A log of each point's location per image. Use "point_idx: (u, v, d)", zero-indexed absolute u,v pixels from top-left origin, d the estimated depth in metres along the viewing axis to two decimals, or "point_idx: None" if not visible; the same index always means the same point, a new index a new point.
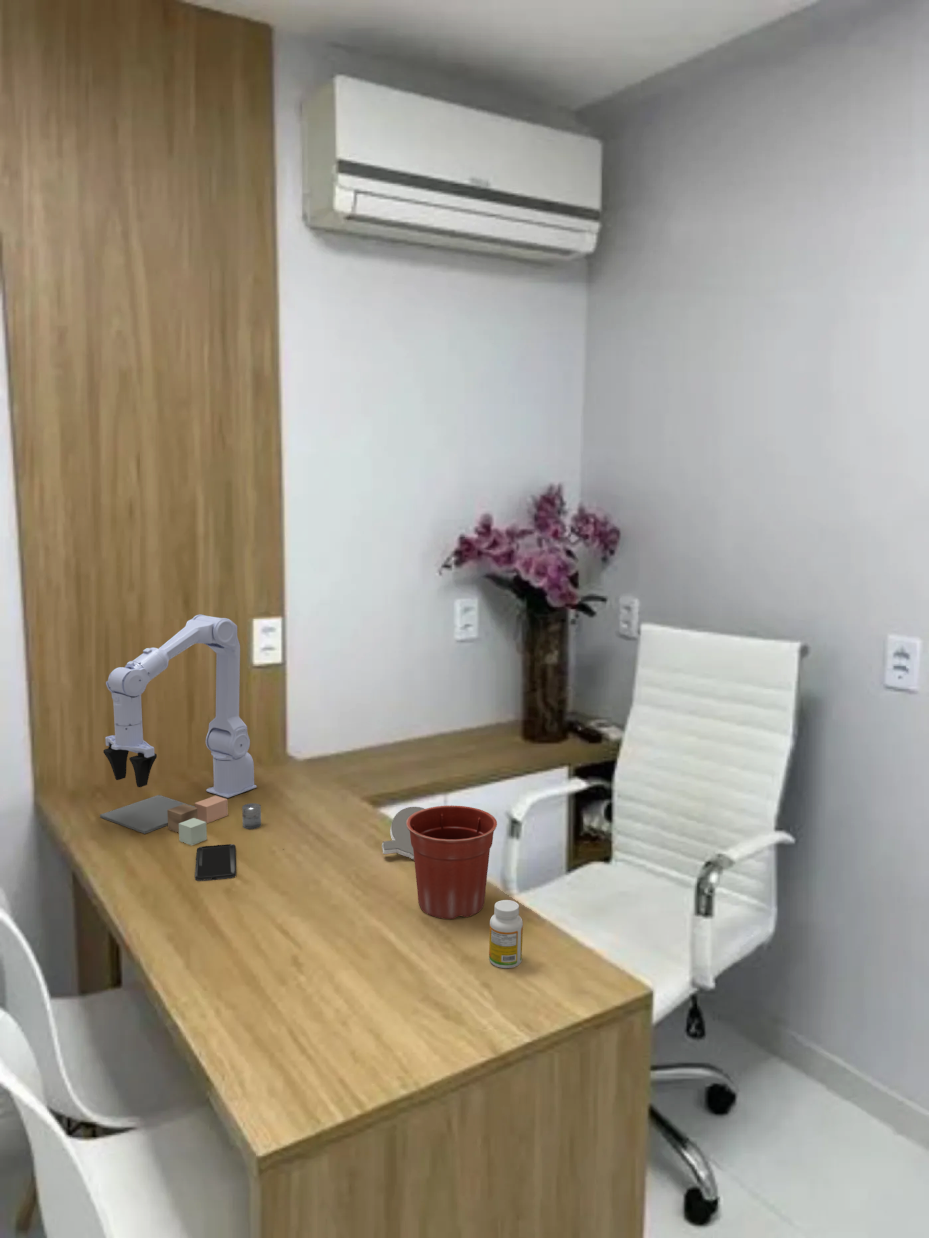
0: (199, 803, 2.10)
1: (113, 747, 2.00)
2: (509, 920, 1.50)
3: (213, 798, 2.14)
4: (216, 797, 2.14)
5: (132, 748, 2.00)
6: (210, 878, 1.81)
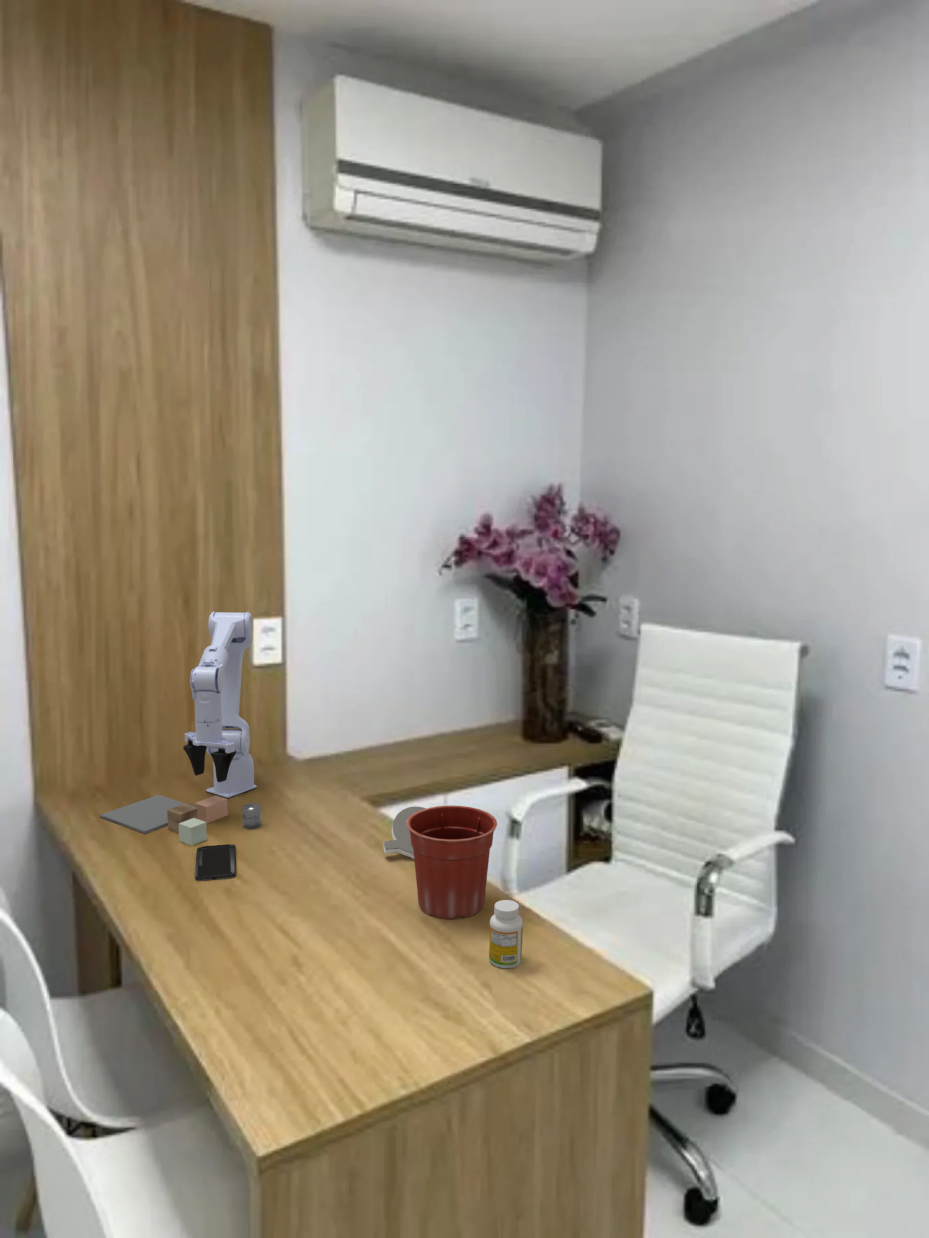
0: (199, 803, 2.10)
1: (195, 743, 2.06)
2: (509, 920, 1.50)
3: (213, 798, 2.14)
4: (216, 797, 2.14)
5: (213, 744, 2.06)
6: (210, 878, 1.81)
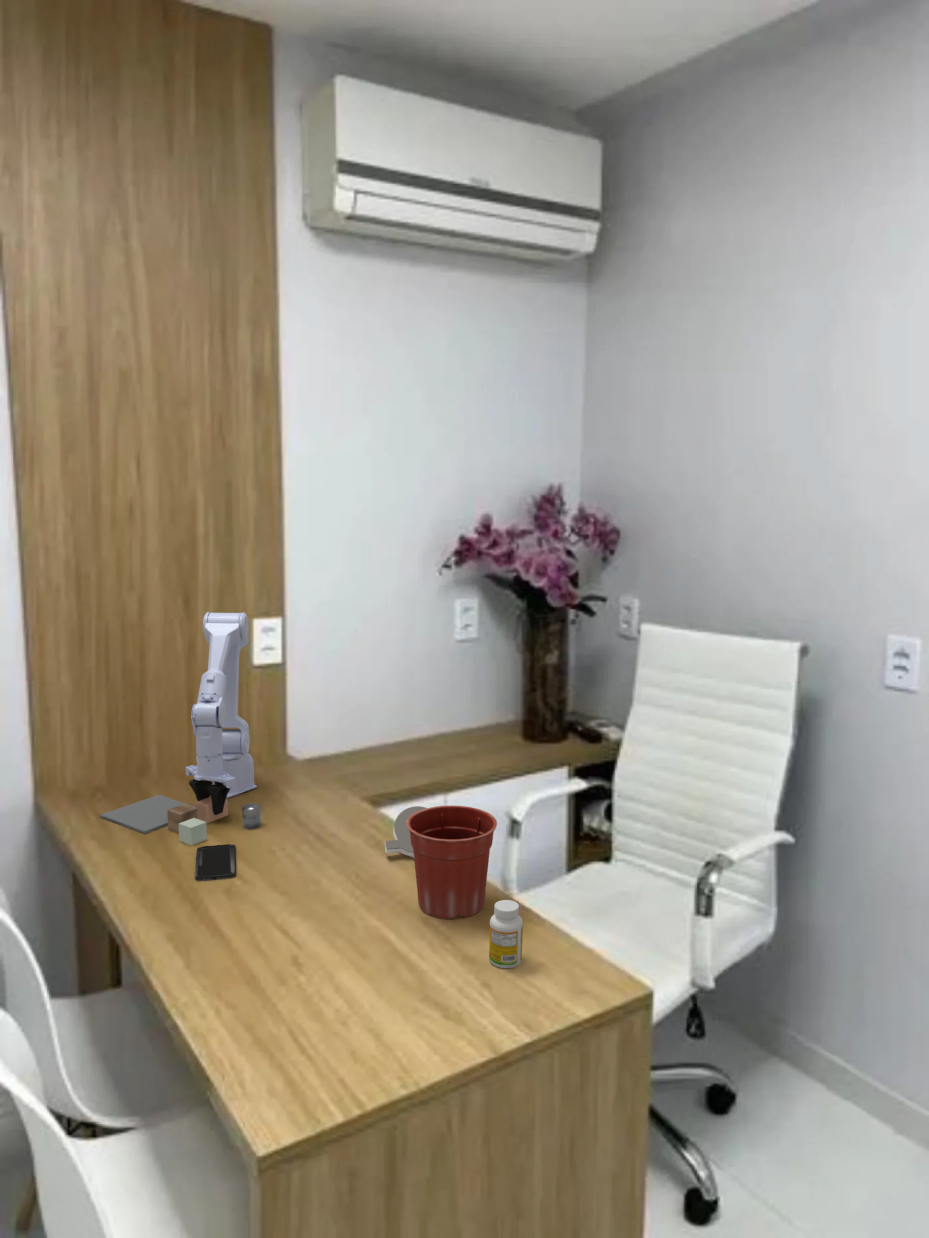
0: (199, 802, 2.10)
1: (196, 778, 2.08)
2: (509, 920, 1.50)
3: None
4: None
5: (214, 779, 2.07)
6: (210, 878, 1.81)
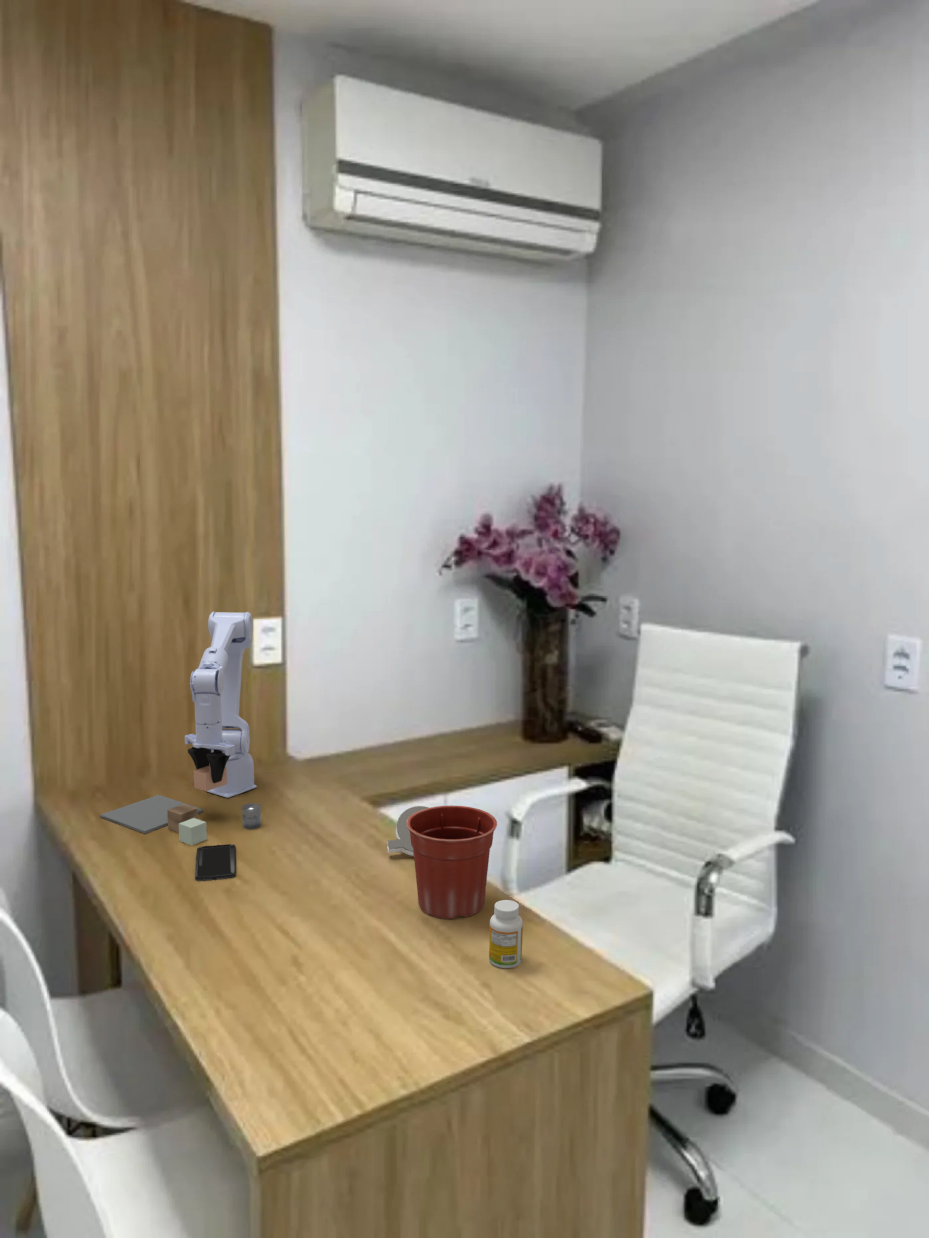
0: (198, 770, 2.09)
1: (195, 745, 2.06)
2: (509, 920, 1.50)
3: None
4: None
5: (213, 746, 2.06)
6: (210, 878, 1.81)
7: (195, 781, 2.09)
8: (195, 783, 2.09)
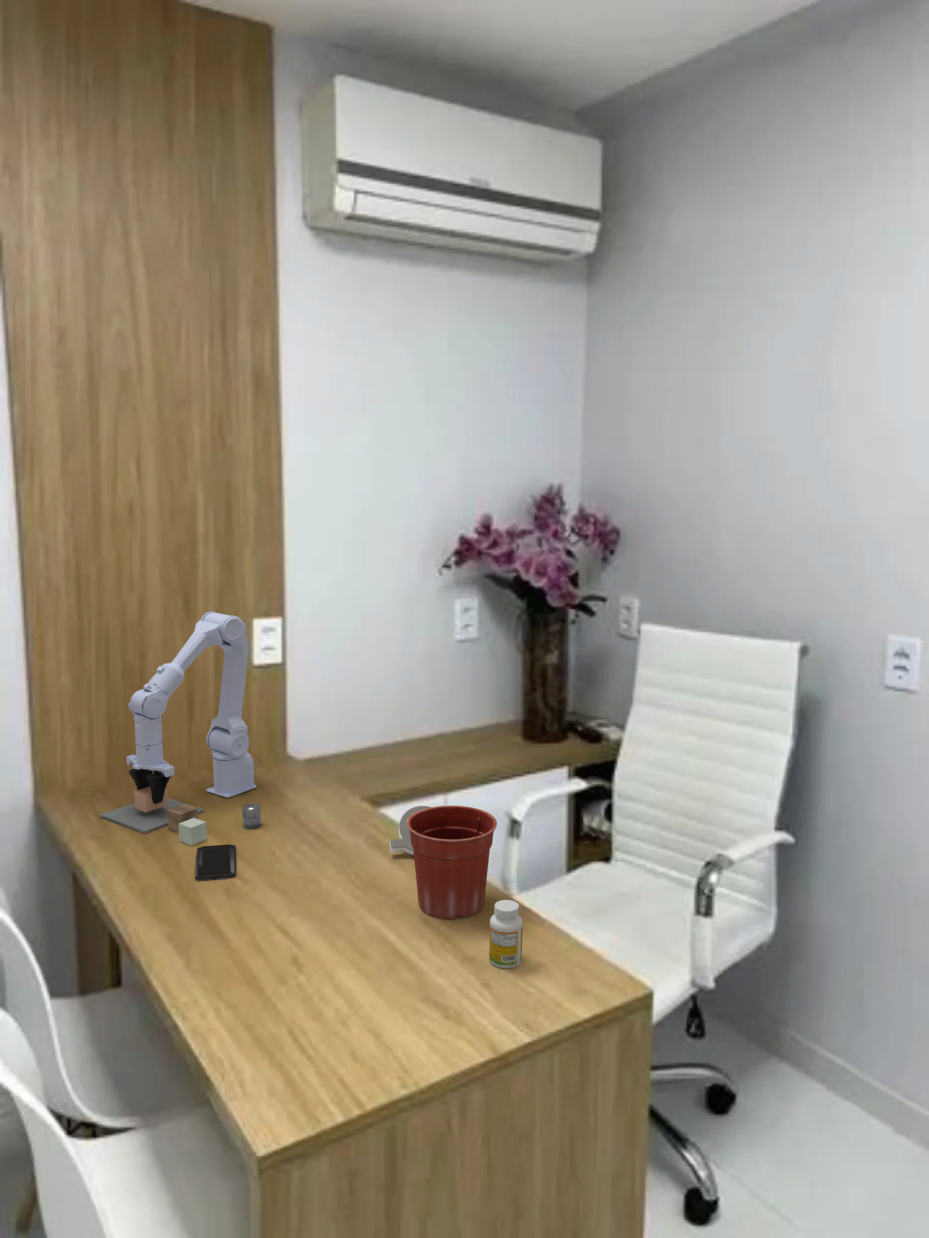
0: (138, 791, 2.11)
1: (134, 767, 2.08)
2: (509, 920, 1.50)
3: None
4: None
5: (153, 768, 2.08)
6: (210, 878, 1.81)
7: (136, 802, 2.11)
8: (136, 804, 2.11)
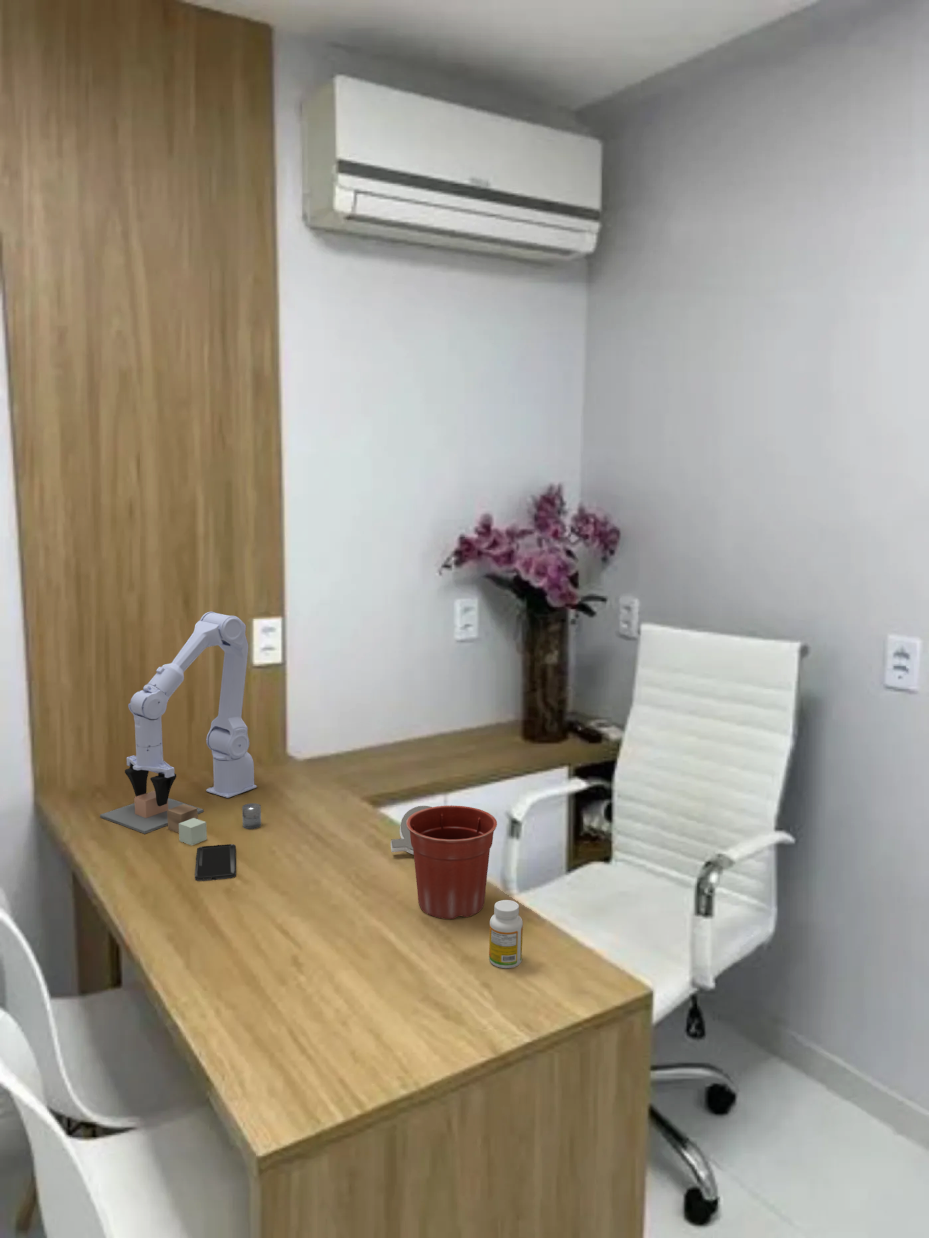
0: (139, 797, 2.11)
1: (135, 768, 2.08)
2: (509, 920, 1.50)
3: (154, 792, 2.14)
4: None
5: (153, 769, 2.08)
6: (210, 878, 1.81)
7: (136, 808, 2.12)
8: (136, 810, 2.12)
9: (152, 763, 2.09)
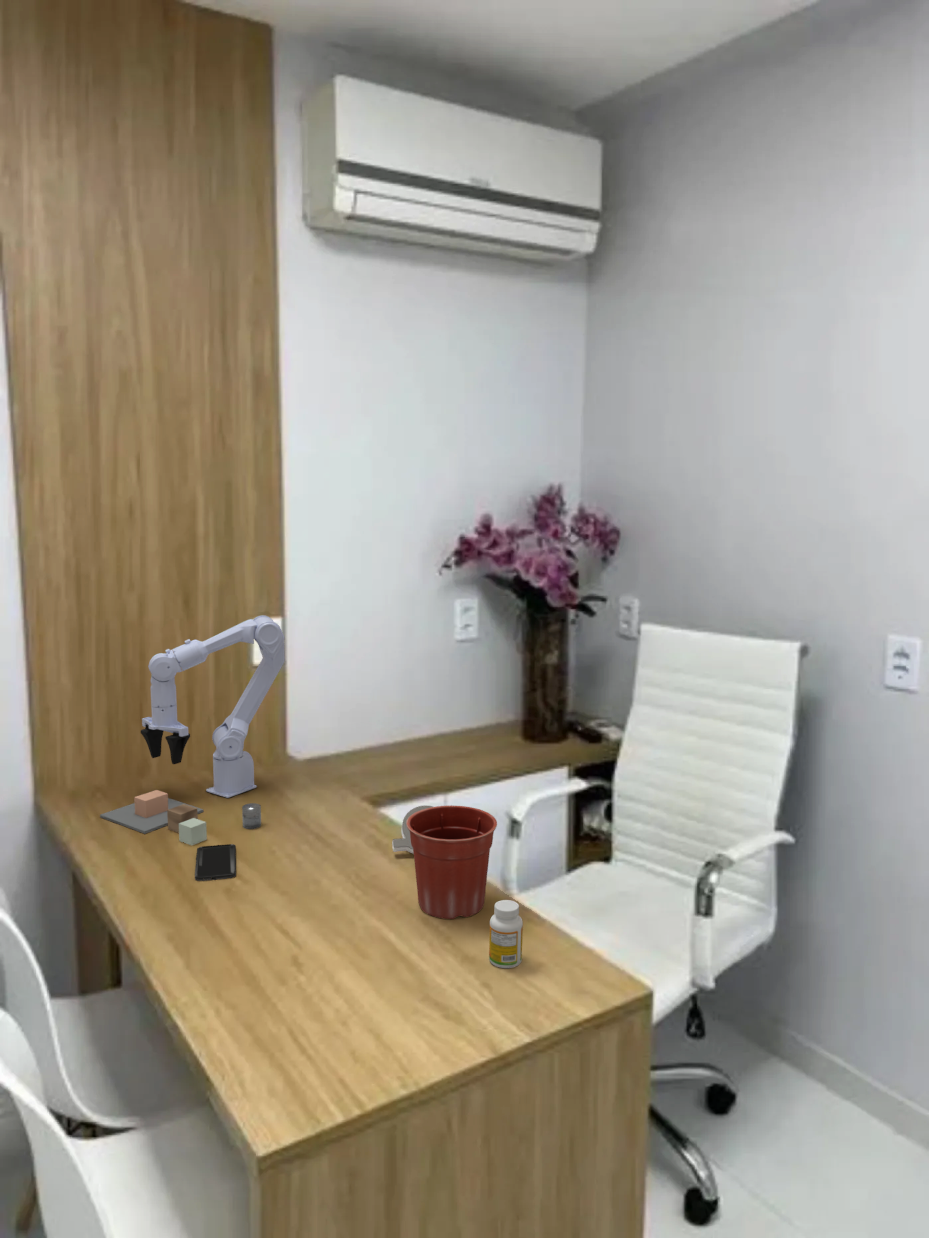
0: (139, 797, 2.11)
1: (150, 727, 2.18)
2: (509, 920, 1.50)
3: (154, 792, 2.14)
4: (157, 791, 2.15)
5: (168, 728, 2.18)
6: (210, 878, 1.81)
7: (136, 808, 2.12)
8: (136, 810, 2.12)
9: (167, 723, 2.19)
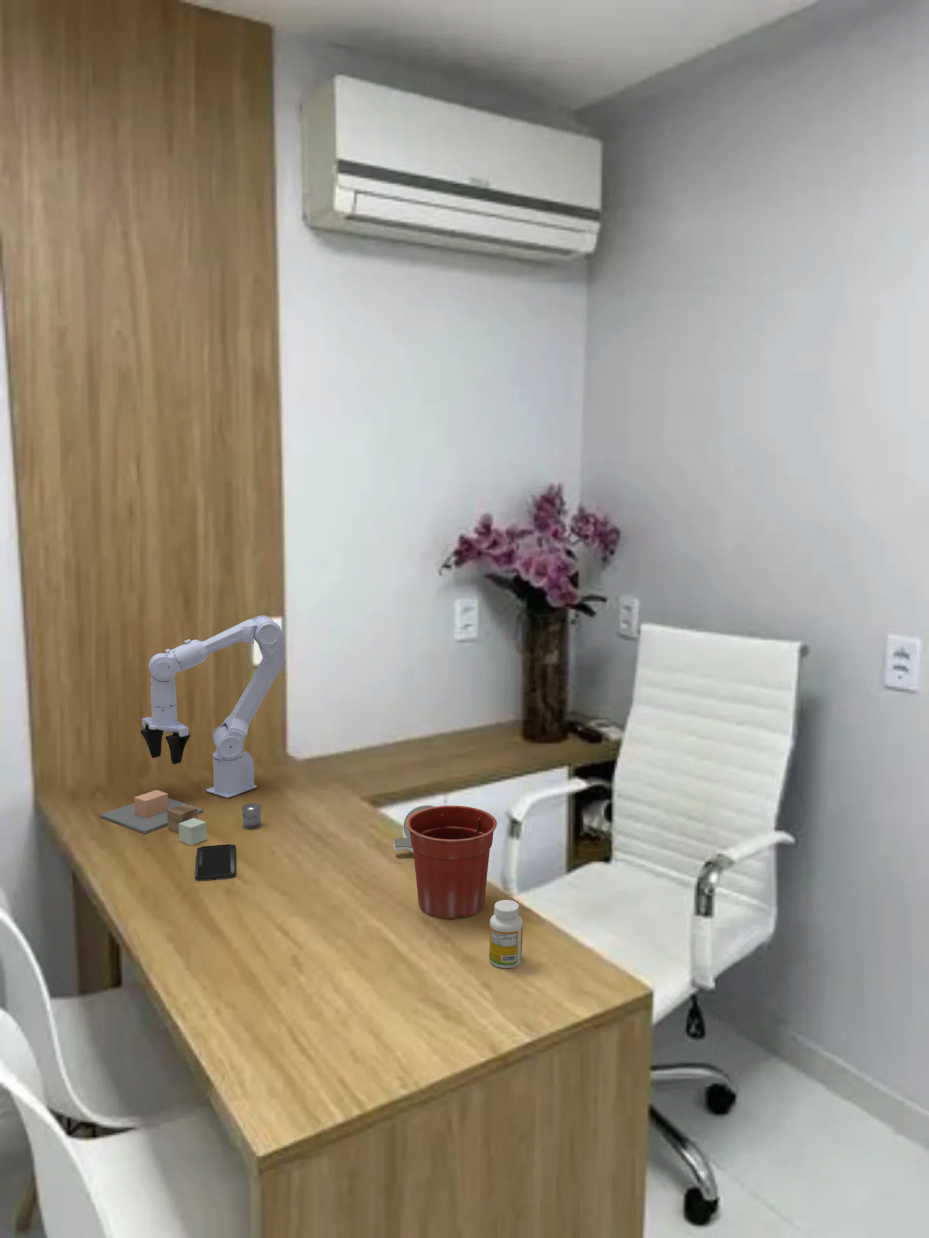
0: (139, 797, 2.11)
1: (150, 727, 2.18)
2: (509, 920, 1.50)
3: (154, 792, 2.14)
4: (157, 791, 2.15)
5: (168, 728, 2.18)
6: (210, 878, 1.81)
7: (136, 808, 2.12)
8: (136, 810, 2.12)
9: (167, 723, 2.19)
